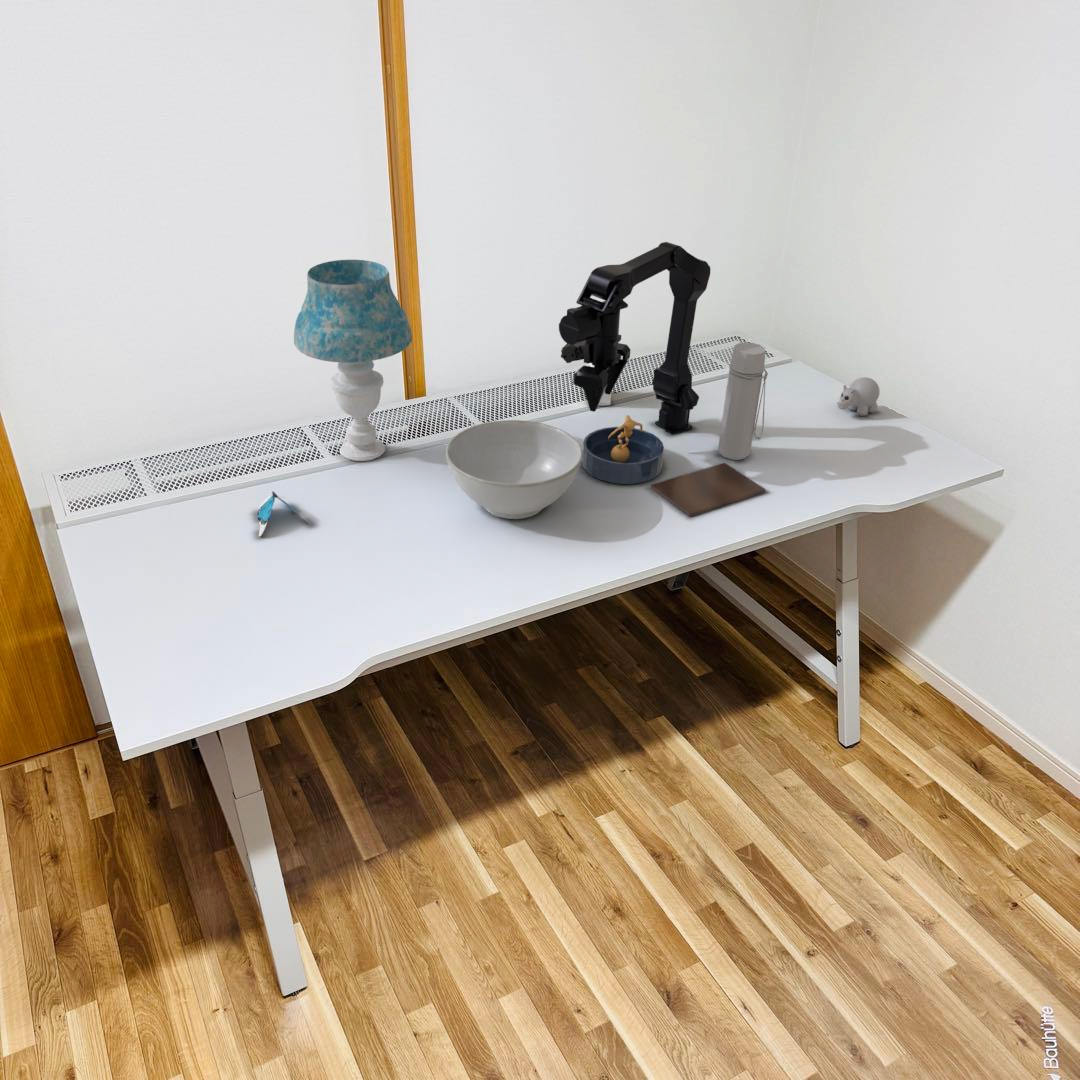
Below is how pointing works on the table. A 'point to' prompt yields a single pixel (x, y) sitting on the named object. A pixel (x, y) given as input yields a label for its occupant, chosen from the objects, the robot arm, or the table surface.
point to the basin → (635, 470)
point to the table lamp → (353, 339)
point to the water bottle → (742, 400)
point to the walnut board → (707, 489)
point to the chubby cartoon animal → (860, 396)
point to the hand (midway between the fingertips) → (600, 402)
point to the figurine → (621, 451)
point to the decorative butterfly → (268, 510)
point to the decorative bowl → (514, 465)
